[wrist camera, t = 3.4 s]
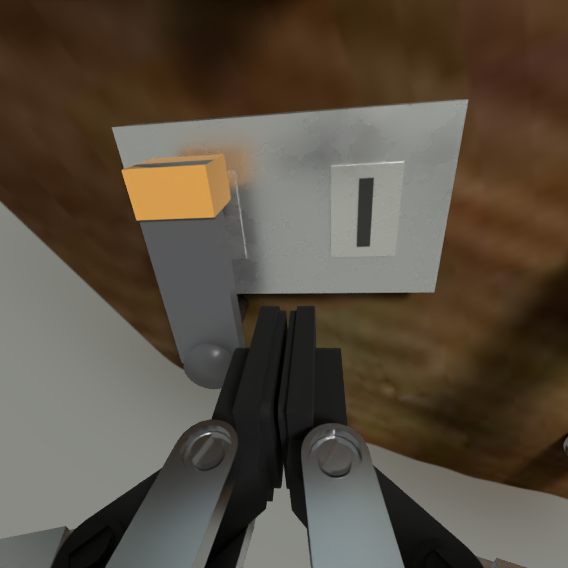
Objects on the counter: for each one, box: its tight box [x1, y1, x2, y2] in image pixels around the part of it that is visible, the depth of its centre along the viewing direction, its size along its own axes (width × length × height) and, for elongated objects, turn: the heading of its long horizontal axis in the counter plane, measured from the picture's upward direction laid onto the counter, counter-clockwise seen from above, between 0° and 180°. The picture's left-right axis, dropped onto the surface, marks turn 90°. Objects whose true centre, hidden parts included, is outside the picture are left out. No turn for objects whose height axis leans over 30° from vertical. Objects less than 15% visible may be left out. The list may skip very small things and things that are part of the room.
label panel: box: [112, 99, 468, 294], centre depth 26 cm, size 24×14×3 cm, turn 94°
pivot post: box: [237, 294, 248, 323], centre depth 31 cm, size 2×2×6 cm
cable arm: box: [122, 154, 246, 389], centre depth 24 cm, size 17×5×4 cm, turn 4°
